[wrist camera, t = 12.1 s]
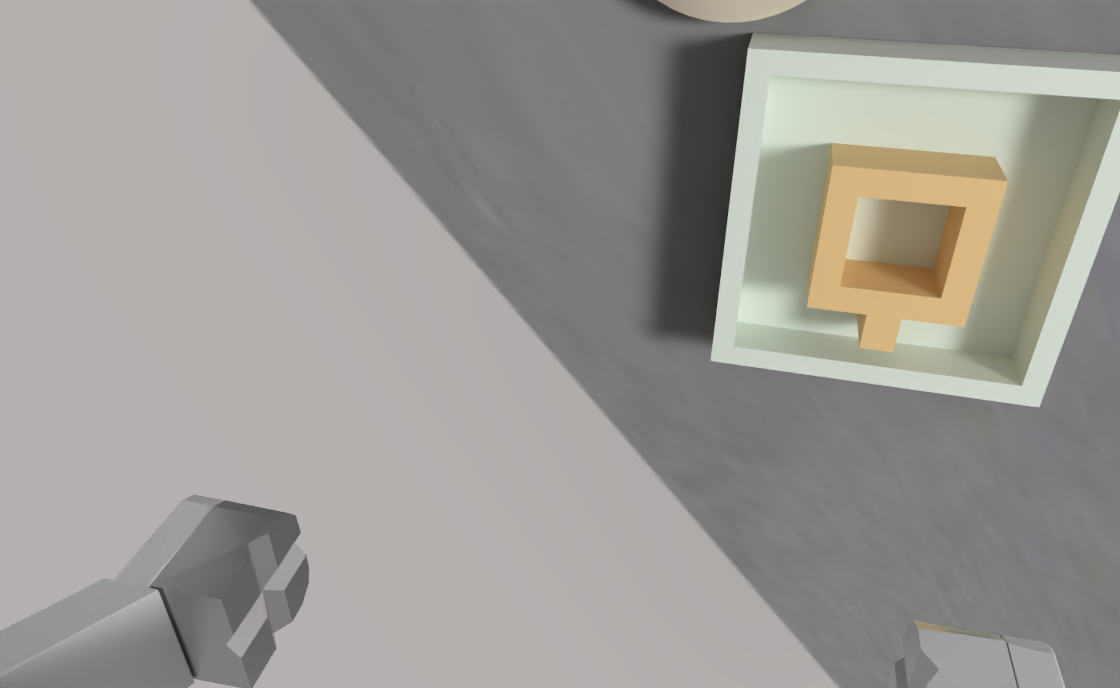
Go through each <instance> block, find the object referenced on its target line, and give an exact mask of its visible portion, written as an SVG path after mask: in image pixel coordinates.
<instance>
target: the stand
mask: <svg viewBox="0 0 1120 688" xmlns="http://www.w3.org/2000/svg"><path fill="white" fill-rule="evenodd" d="M658 1H660V2H661V3H663V4H665V5H666V6H668V7H669V8H671V9H673V10H676V11H678V12H680V13H683V14H685V15H687V16H691V17H694V18H698V19H702V20H706V21H714V22H722V23H731V22H746V21H753V20H759V19H763V18H766V17H770V16H773V15H777V14H779V13H781V12H784V11H786V10H788V9H791V8H793V7H795V6H797V5H799V4H800V3H802V2H804V1H805V0H658Z"/></svg>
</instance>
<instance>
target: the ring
mask: <svg viewBox="0 0 1120 688" xmlns="http://www.w3.org/2000/svg"><path fill="white" fill-rule="evenodd" d="M1007 183H1008V180H1007V178H1006V176H1005V174H1004V173H1003V171H1002V169H1001V167H1000V165H999V163H998V161H997V159H996V157H990V156H978V155H967V154H955V153H943V152H932V151H920V150H908V149H897V148H885V147H873V146H862V145H850V144H839V143H832V146H831V151H830V157H829V162H828V168H827V173H826V179H825V184H824V190H823V196H822V201H821V207H820V212H819V218H818V223H817V229H816V234H815V240H814V245H813V251H812V256H811V262H810V268H809V273H808V281H807V307H809V308H817V309H825V310H832V311H840V312H848V313H856V314H857V325H858V338H859V348H865V349H872V350H880V351H887V352H894V348H895V344H896V340H897V336H898V332H899V328H900V324H901V320H902V319H904V320H912V321H920V322H928V323H936V324H944V325H952V326H959V327H965V324H966V320H967V317H968V314H969V310H970V307H971V304H972V300H973V297H974V294H975V290H976V287H977V283H978V280H979V277H980V273H981V270H982V267H983V263H984V260H985V257H986V253H987V250H988V247H989V243H990V240H991V237H992V233H993V230H994V227H995V223H996V220H997V217H998V213H999V210H1000V207H1001V203H1002V200H1003V197H1004V193H1005V190H1006V187H1007ZM858 197H866V198H876V199H887V200H897V201H907V202H917V203H927V204H938V205H948V206H950V209H949V213H948V216H947V220H946V224H945V228H944V231H943V235H942V239H941V243H940V246H939V250H938V254H937V258H936V262H935V265H934V269H931V268H922V267H913V266H904V265H896V264H887V263H878V262H869V261H860V260H851V259H846V255H847V250H848V245H849V240H850V236H851V231H852V226H853V221H854V216H855V211H856V206H857V201H858Z"/></svg>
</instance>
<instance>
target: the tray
mask: <svg viewBox="0 0 1120 688" xmlns="http://www.w3.org/2000/svg"><path fill="white" fill-rule="evenodd" d="M832 143H839V144H850V145H862V146H873V147H885V148H897V149H908V150H920V151H932V152H943V153H955V154H967V155H978V156H990V157H996V159H997V161H998V163H999V165H1000V167H1001V169H1002V171H1003V173H1004V174H1005V176H1006V178H1007V180H1008V183H1007V187H1006V190H1005V193H1004V197H1003V200H1002V203H1001V207H1000V210H999V213H998V217H997V220H996V223H995V227H994V230H993V233H992V237H991V240H990V243H989V247H988V250H987V253H986V257H985V260H984V263H983V267H982V270H981V273H980V277H979V280H978V283H977V287H976V290H975V294H974V297H973V300H972V304H971V307H970V310H969V314H968V317H967V320H966V324H965V327H959V326H952V325H944V324H936V323H928V322H920V321H912V320H904V319H902V320H901V324H900V328H899V332H898V336H897V340H896V344H895V348H894V352H887V351H880V350H872V349H865V348H859V338H858V325H857V314H856V313H848V312H840V311H832V310H825V309H817V308H809V307H807V281H808V273H809V268H810V262H811V256H812V251H813V245H814V240H815V234H816V229H817V223H818V218H819V212H820V207H821V201H822V196H823V190H824V184H825V179H826V173H827V168H828V162H829V157H830V151H831V146H832ZM1119 192H1120V55H1118V54H1101V53H1084V52H1067V51H1051V50H1034V49H1017V48H1000V47H984V46H967V45H950V44H933V43H917V42H900V41H883V40H866V39H850V38H833V37H816V36H800V35H783V34H766V33H753V34H752V38H751V41H750V44H749V47H748V53H747V61H746V70H745V78H744V86H743V95H742V103H741V112H740V120H739V128H738V137H737V145H736V153H735V162H734V170H733V179H732V187H731V195H730V204H729V212H728V220H727V229H726V237H725V246H724V254H723V262H722V271H721V279H720V287H719V296H718V304H717V313H716V321H715V329H714V338H713V346H712V354H711V361H715V362H722V363H729V364H736V365H743V366H750V367H757V368H765V369H772V370H779V371H786V372H793V373H800V374H807V375H814V376H821V377H828V378H835V379H842V380H849V381H856V382H863V383H870V384H877V385H885V386H892V387H899V388H906V389H913V390H920V391H927V392H934V393H941V394H948V395H955V396H962V397H969V398H976V399H983V400H990V401H997V402H1004V403H1012V404H1019V405H1026V406H1033V407H1039V406H1040V404H1041V401H1042V398H1043V396H1044V393H1045V390H1046V388H1047V385H1048V382H1049V380H1050V377H1051V374H1052V371H1053V369H1054V366H1055V363H1056V361H1057V358H1058V355H1059V353H1060V350H1061V347H1062V345H1063V342H1064V339H1065V337H1066V334H1067V331H1068V329H1069V326H1070V323H1071V321H1072V318H1073V315H1074V313H1075V310H1076V307H1077V305H1078V302H1079V299H1080V297H1081V294H1082V291H1083V289H1084V286H1085V283H1086V281H1087V278H1088V275H1089V272H1090V270H1091V267H1092V264H1093V262H1094V259H1095V256H1096V254H1097V251H1098V248H1099V246H1100V243H1101V240H1102V238H1103V235H1104V232H1105V230H1106V227H1107V224H1108V222H1109V219H1110V216H1111V214H1112V211H1113V208H1114V206H1115V203H1116V200H1117V198H1118V195H1119ZM949 209H950V206H948V205H938V204H927V203H917V202H907V201H897V200H887V199H876V198H866V197H858V201H857V206H856V211H855V216H854V221H853V226H852V231H851V236H850V240H849V245H848V250H847V255H846V259H851V260H860V261H869V262H878V263H887V264H896V265H904V266H913V267H922V268H931V269H934V265H935V262H936V258H937V254H938V250H939V246H940V243H941V239H942V235H943V231H944V228H945V224H946V220H947V216H948V213H949Z"/></svg>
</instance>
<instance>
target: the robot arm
mask: <svg viewBox="0 0 1120 688" xmlns="http://www.w3.org/2000/svg"><path fill="white" fill-rule="evenodd" d="M299 534H300V529H299V525H298V522H297V519H296V516H295V515H292V514H289V513H285V512H280V511H275V510H270V509H265V508H260V507H255V506H250V505H245V504H240V503H235V502H231V501H226V500H225V501H224V500H219V499H214V498H208V497H203V496H198V495H192V496H190V497H189V498H186V499H185V500H183V501H182V502H181V503H180V504H179V505H178V506H177V507H176V508H175V509H174V511H173V512H172V513H171V514H170V515H169V516H168V518H167V519H166V520H165V521H164V522H163V523H162V525H161V526H160V527H159V528H158V529H157V530H156V532H155V533H154V534H153V535H152V536H151V537H150V539H149V540H148V541H147V542H146V543H145V544H144V545H143V547H142V548H141V549H140V550H139V551H138V553H137V554H136V555H135V556H134V557H133V558H132V559H131V561H130V562H129V563H128V564H127V565H126V566H125V568H124V569H123V570H122V571H121V572H120V573H119V575H118V576H117V577H116V578H115V579H114V580H109V579H102V580H100V581H98V582H97V583H95V584H93V585H91V586H89V587H87V588H85V589H83V590H81V591H79V592H77V593H75V594H73V595H71V596H69V597H67V598H65V599H63V600H61V601H59V602H57V603H55V604H53V605H51V606H49V607H47V608H45V609H43V610H41V611H39V612H37V613H35V614H33V615H31V616H29V617H27V618H25V619H24V620H21V621H19V622H17V623H15V624H13V625H12V626H10V627H8V628H5V629H3V630H1V631H0V688H188V687H189V686H190V685H192V684H193V683H194V679H198V680H204V681H209V682H214V683H220V684H225V685H231V686H236V687H241V688H253V686H254V684H255V683H256V681H257V680H258V678H259V676H260V675H261V673H262V671H263V669H264V668H265V666H266V664H267V663H268V661H269V660H270V658H271V656H272V655H273V653H274V651H275V650H276V643H275V636H274V632H276V631H278V630H279V629H281V628H283V627H284V626H286V625H287V624H289V623H291V622H292V621H293V619H294V618H295V616H296V614H297V612H298V611H299V609H300V607H301V605H302V603H303V600H304V596H305V593H306V590H307V587H308V583H309V566H308V562H307V558H306V554H304V553H303V551H302V550H301V549H300V548H299V547H298V546H297V545H296V544H295V543H294V542H295V541H296V539H297V537H298V536H299ZM902 641H903V649H904V658H902V659H900V660H899V661H897V662H895V663H894V666H893V669H892V672H891V676H890V679H889V685H888V688H1065V685H1064V682H1063V679H1062V676H1061V673H1060V669H1059V666H1058V663H1057V660H1056V656H1055V653H1054V651H1053V649H1052V648H1051V647H1050V646H1049V645H1048V643H1045V642H1039V641H1033V640H1027V639H1021V638H1015V637H1010V636H1004V635H1000V636H999V635H998V634H996V633H989V632H983V631H977V630H971V629H965V628H958V627H952V626H946V625H940V624H933V623H927V622H921V621H915V620H912V621H911V622H910V623H909V624H908V626H907V628H906V631H905V634H904V636H903V639H902Z"/></svg>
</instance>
